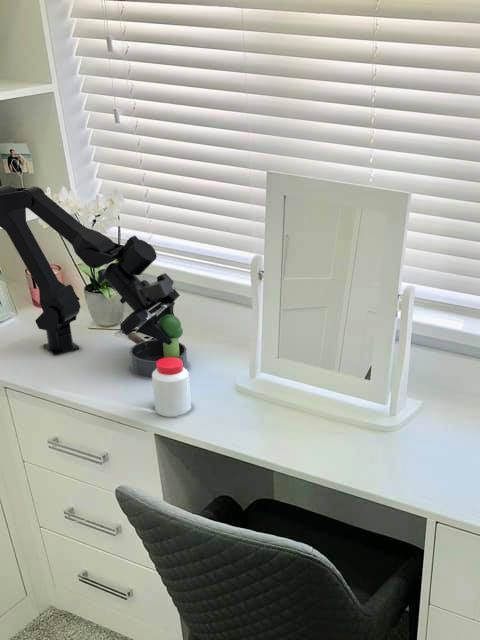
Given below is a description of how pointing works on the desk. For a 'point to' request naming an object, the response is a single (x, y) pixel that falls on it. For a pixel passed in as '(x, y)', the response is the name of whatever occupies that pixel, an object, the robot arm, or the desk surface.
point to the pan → (151, 356)
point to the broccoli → (171, 334)
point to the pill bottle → (171, 387)
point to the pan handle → (136, 339)
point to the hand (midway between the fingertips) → (175, 339)
